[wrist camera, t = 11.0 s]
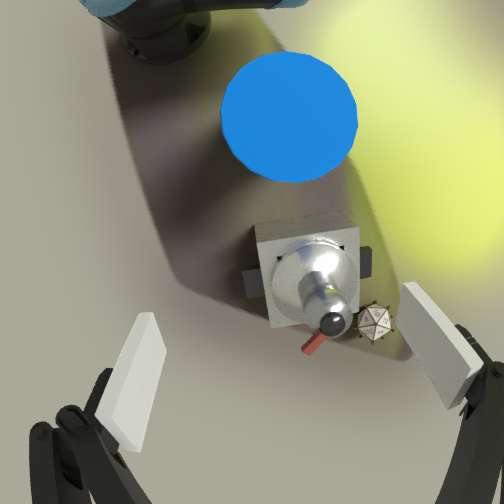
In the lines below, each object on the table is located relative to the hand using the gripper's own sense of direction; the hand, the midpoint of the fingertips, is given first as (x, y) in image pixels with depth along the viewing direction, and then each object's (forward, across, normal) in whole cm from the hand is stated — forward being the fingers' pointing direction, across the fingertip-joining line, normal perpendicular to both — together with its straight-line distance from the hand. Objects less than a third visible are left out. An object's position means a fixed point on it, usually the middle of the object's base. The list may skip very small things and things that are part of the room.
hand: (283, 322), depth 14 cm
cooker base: (+34, +7, -14) cm, 38 cm away
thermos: (+35, +3, +9) cm, 37 cm away
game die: (+34, +21, -28) cm, 49 cm away
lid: (+28, +7, -13) cm, 32 cm away
